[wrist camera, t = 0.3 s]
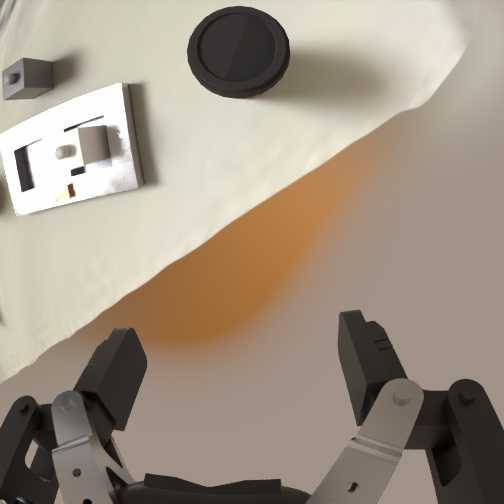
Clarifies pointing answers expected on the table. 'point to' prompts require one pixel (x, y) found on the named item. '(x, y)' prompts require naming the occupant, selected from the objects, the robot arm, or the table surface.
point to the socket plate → (82, 178)
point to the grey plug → (27, 79)
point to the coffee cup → (238, 52)
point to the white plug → (79, 147)
